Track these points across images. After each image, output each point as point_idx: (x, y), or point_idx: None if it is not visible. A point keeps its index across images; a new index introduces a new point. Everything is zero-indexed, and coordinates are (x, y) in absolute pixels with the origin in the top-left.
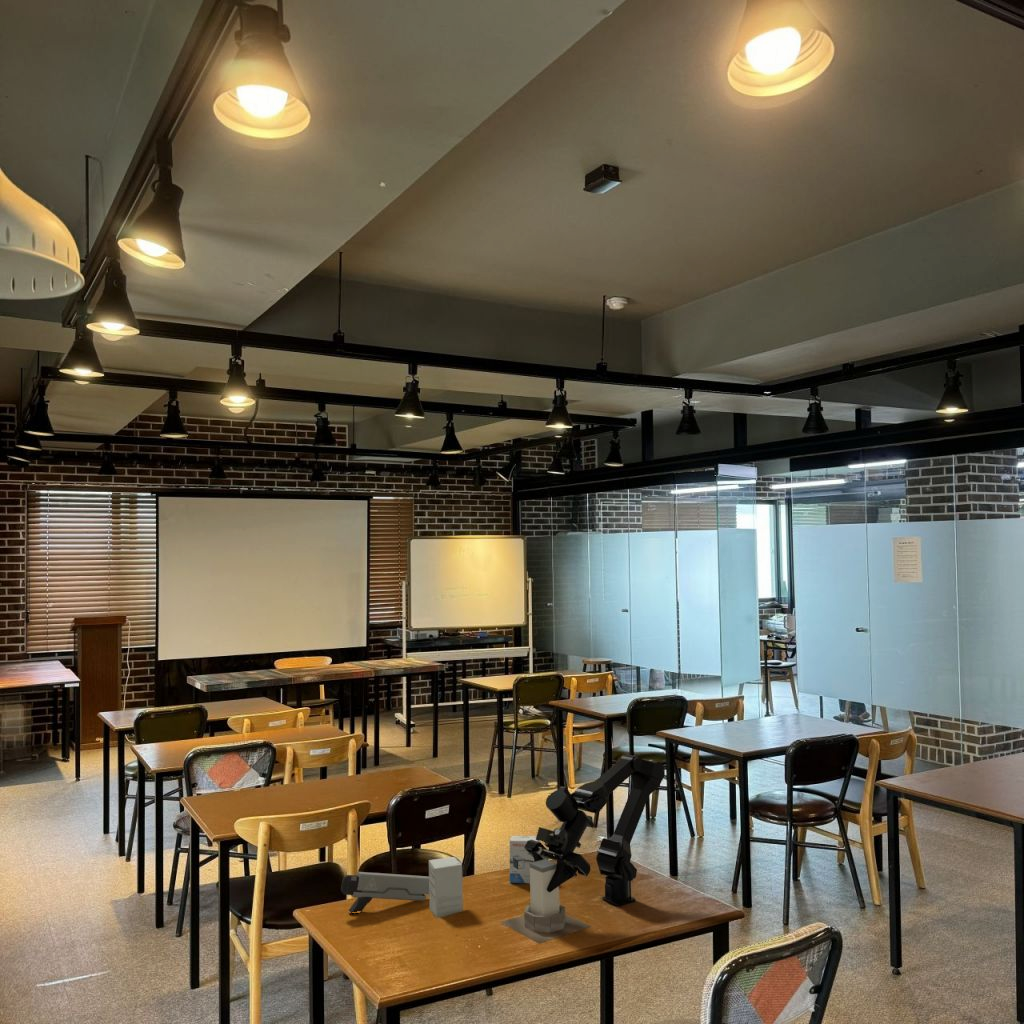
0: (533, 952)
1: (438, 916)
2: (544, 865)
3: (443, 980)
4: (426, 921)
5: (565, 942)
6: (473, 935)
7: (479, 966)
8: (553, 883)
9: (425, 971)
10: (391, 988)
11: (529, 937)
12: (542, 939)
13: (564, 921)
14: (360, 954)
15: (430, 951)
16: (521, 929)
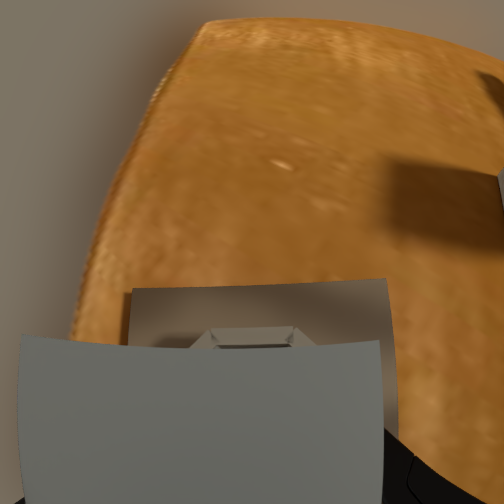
0: (134, 263)
1: (499, 176)
2: (85, 468)
3: (183, 69)
4: (487, 153)
5: None
6: (362, 186)
7: (177, 123)
8: None
9: (237, 59)
10: (220, 28)
11: (191, 290)
12: (146, 317)
13: None
14: (365, 33)
15: (319, 85)
16: (275, 311)
